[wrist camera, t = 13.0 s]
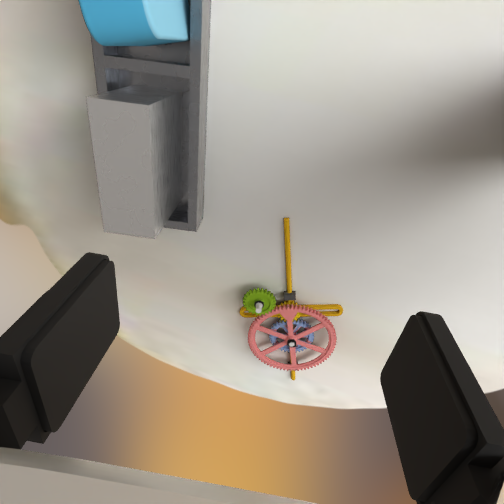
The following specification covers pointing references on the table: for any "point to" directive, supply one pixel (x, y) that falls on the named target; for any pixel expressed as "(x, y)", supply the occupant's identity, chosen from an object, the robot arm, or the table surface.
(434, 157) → the table surface
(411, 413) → the robot arm
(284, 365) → the mechanical gear assembly
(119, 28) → the data package
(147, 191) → the rack
